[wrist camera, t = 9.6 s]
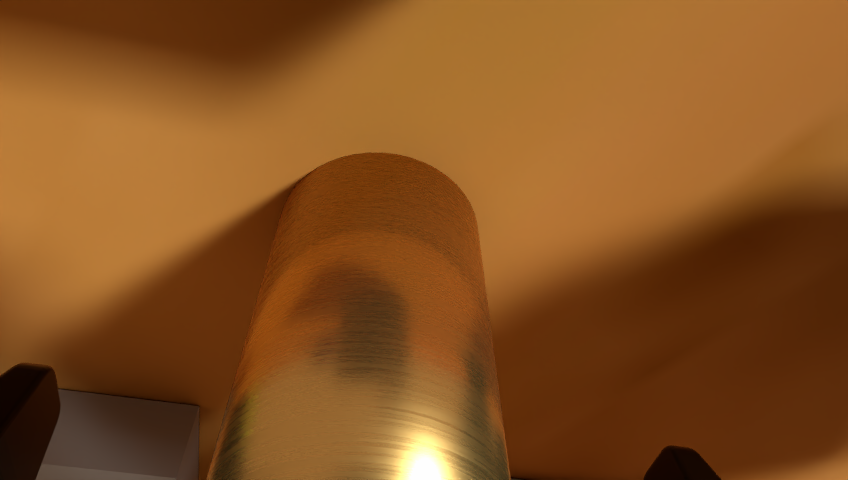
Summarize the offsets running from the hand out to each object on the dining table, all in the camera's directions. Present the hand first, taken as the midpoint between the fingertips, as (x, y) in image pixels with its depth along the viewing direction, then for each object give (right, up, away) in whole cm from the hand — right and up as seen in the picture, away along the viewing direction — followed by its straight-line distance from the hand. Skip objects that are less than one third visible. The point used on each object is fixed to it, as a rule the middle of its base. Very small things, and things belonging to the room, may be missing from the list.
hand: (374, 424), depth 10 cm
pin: (0, +3, +4) cm, 5 cm away
